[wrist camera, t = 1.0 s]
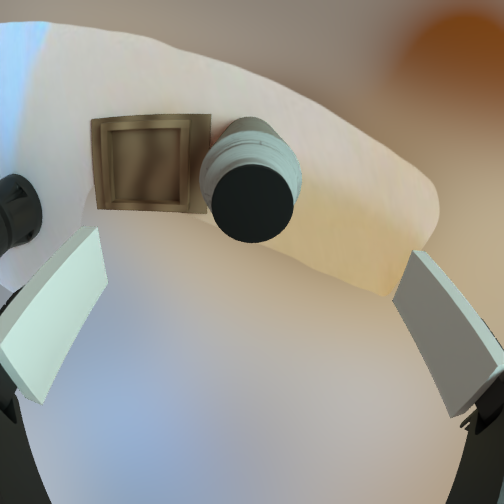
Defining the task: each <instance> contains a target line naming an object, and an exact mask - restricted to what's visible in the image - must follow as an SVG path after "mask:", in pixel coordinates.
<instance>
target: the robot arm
mask: <svg viewBox="0 0 504 504" xmlns="http://www.w3.org/2000/svg"><path fill="white" fill-rule="evenodd" d="M41 225H42V209H41V204H40V200H39V198H38V195H37V193H36V191H35V189H34V188H33V186H32V185H31V184H30V182H29V181H28V180H27V179H25V178H24V177H23V176H21V175H18V174H11V175H8V176H6V177H5V178H3V179H1V180H0V257H1V256H2V255H3V254H4V253H5V252H6V251H7V250H8V249H10V248H13V247H16V246H19V245H22V244H25V243H28V242H29V241H31V240H32V239H33V238H34V237H35V236H36V235H37V234H38V233H39V231H40V228H41ZM107 284H108V280H107V275H106V271H105V265H104V260H103V255H102V250H101V245H100V239H99V233H98V227H91V226H82V227H81V228H80V229H79V230H78V231H77V232H76V233H75V234H74V235H73V236H72V237H71V238H70V239H69V240H68V241H66V242H65V243H64V244H63V245H62V246H61V247H60V248H59V249H58V250H57V252H56V253H55V254H54V255H53V256H52V257H51V258H50V259H49V260H48V261H47V262H46V263H45V264H44V265H43V266H42V267H41V268H40V269H39V270H38V272H37V273H36V274H35V275H34V276H33V277H32V278H31V279H30V280H29V282H28V283H27V284H26V285H24V286H23V287H21V288H20V289H19V290H17V291H16V292H14V293H13V295H12V296H11V297H10V298H9V299H8V300H7V302H6V305H3V307H2V308H1V309H0V504H52V503H51V501H50V499H49V497H48V494H47V492H46V490H45V487H44V485H43V482H42V480H41V477H40V475H39V472H38V470H37V467H36V464H35V461H34V458H33V455H32V452H31V449H30V446H29V442H28V439H27V435H26V431H25V428H24V424H23V420H22V415H21V411H20V406H19V402H18V399H17V397H16V395H15V394H14V393H15V391H16V389H17V388H18V389H19V390H20V391H21V393H22V394H23V395H24V396H25V398H27V399H30V400H31V401H34V402H36V403H39V404H41V405H43V403H44V400H45V398H46V396H47V394H48V392H49V389H50V387H51V385H52V383H53V381H54V379H55V377H56V375H57V373H58V371H59V369H60V367H61V364H62V362H63V361H64V359H65V357H66V355H67V353H68V351H69V349H70V347H71V345H72V344H73V342H74V340H75V338H76V336H77V334H78V332H79V331H80V329H81V327H82V326H83V324H84V322H85V320H86V319H87V317H88V315H89V313H90V312H91V310H92V308H93V307H94V305H95V303H96V302H97V300H98V298H99V297H100V295H101V293H102V292H103V290H104V289H105V287H106V286H107ZM392 301H393V303H394V304H395V306H396V308H397V310H398V312H399V313H400V315H401V317H402V319H403V321H404V322H405V324H406V326H407V328H408V330H409V331H410V333H411V335H412V337H413V339H414V341H415V343H416V345H417V347H418V349H419V351H420V353H421V355H422V357H423V359H424V361H425V363H426V365H427V367H428V369H429V371H430V373H431V375H432V377H433V379H434V382H435V384H436V386H437V388H438V390H439V393H440V395H441V397H442V399H443V402H444V404H445V406H446V409H447V411H448V413H449V416H450V418H453V417H455V416H458V415H461V414H464V413H465V412H466V411H467V410H468V409H469V408H470V407H471V406H472V405H473V404H474V403H475V405H476V407H477V409H476V410H475V411H474V412H473V413H472V414H471V415H469V417H467V418H466V419H465V420H464V421H463V422H462V423H461V425H460V428H462V427H463V426H464V425H466V424H467V423H468V422H470V424H469V425H468V426H467V427H466V428H465V430H467V431H468V435H467V439H466V443H465V447H464V451H463V455H462V458H461V461H460V465H459V468H458V471H457V474H456V477H455V480H454V483H453V486H452V489H451V491H450V494H449V496H448V499H447V501H446V504H504V349H503V348H502V346H501V345H500V343H499V342H498V340H497V339H496V338H494V337H495V336H494V335H493V333H492V332H491V331H490V330H489V328H488V326H487V325H486V323H485V322H484V321H483V319H481V318H480V317H479V315H478V314H477V313H476V311H475V310H474V309H473V308H472V306H471V305H470V303H469V302H468V301H467V300H466V298H465V297H464V296H463V295H462V293H461V292H460V291H459V290H458V289H457V287H456V286H455V285H454V284H453V282H451V280H450V279H449V278H448V277H447V275H446V274H445V273H444V272H443V271H442V270H441V268H439V266H438V265H437V264H436V263H435V262H434V261H433V259H432V258H431V257H430V256H429V255H428V254H427V253H426V252H425V251H415V250H412V252H411V255H410V258H409V261H408V263H407V266H406V269H405V271H404V274H403V276H402V279H401V281H400V284H399V286H398V289H397V291H396V293H395V296H394V298H393V300H392Z"/></svg>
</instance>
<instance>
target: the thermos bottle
mask: <svg viewBox="0 0 504 504" xmlns="http://www.w3.org/2000/svg"><path fill="white" fill-rule="evenodd" d="M199 183H200V190H201V193H202V196H203V199H204V201H205V202H206V204H207V206H208V207H209V209H210V211H211V212H212V214H213V217H214V220H215V222H216V223H217V225H218V227H219V228H220V229H221V230H222V231H223V232H224V233H225V234H227V235H228V236H229V237H231V238H233V239H235V240H238V241H241V242H246V243H259V242H263V241H267V240H269V239H271V238H274V237H275V236H277V235H278V234H280V233H281V232H282V231H283V230H284V229H285V227H286V226H287V224H288V223H289V221H290V219H291V217H292V213H293V208H294V204H295V203H296V201H297V198H298V196H299V194H300V190H301V184H302V173H301V169H300V164H299V162H298V160H297V158H296V155H295V154H294V152H293V151H292V150H291V148H290V147H289V146H288V145H287V144H286V143H285V141H284V140H283V139H282V138H281V137H280V136H279V135H278V134H277V133H276V132H275V131H274V130H273V128H272V127H271V126H270V125H269V124H267V123H266V122H265V121H263V120H261V119H259V118H256V117H244V118H240V119H238V120H236V121H234V122H233V123H232V124H231V125H230V126H229V127H228V128H227V129H226V130H225V132H224V133H223V134H222V135H221V136H220V138H219V139H218V140H217V141H216V142H215V144H214V145H213V146H212V147H211V149H210V150H209V151H208V152H207V154H206V156H205V158H204V160H203V162H202V165H201V169H200V176H199Z"/></svg>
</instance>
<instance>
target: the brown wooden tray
mask: <svg viewBox="0 0 504 504" xmlns="http://www.w3.org/2000/svg"><path fill="white" fill-rule="evenodd" d="M91 122H92V155H93V170H94V182H95V192H96V201H97V209H106V210H138V211H163V212H182V213H200V214H207V204H206V202H205V201H204V199H203V196H202V193H201V190H200V183H199V176H200V169H201V165H202V162H203V160H204V158H205V156H206V154H207V152H208V151H209V146H210V128H211V114H154V115H134V116H120V117H109V118H99V119H92V120H91Z"/></svg>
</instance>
